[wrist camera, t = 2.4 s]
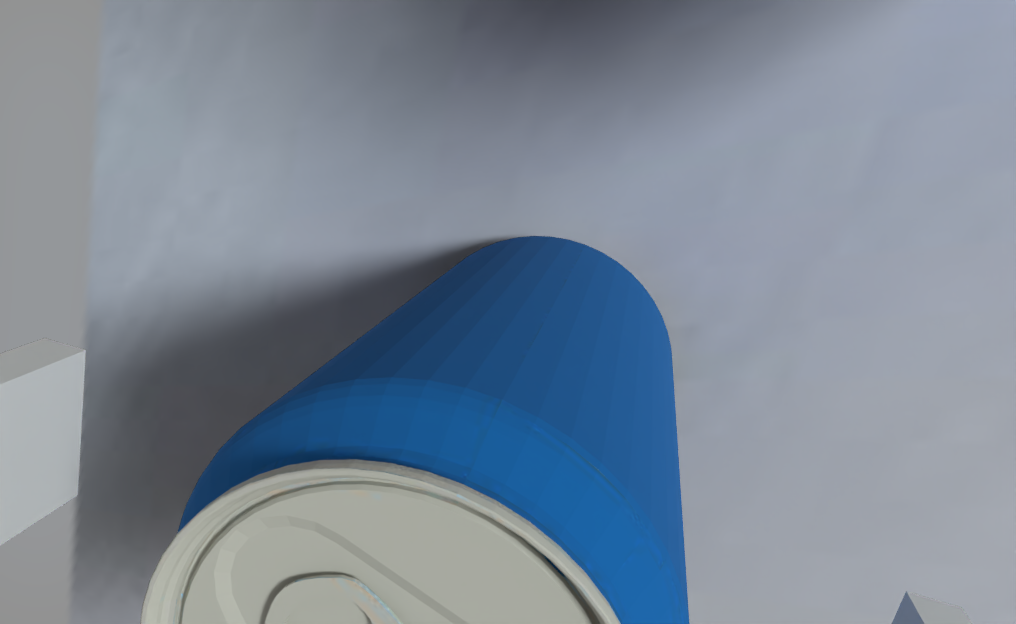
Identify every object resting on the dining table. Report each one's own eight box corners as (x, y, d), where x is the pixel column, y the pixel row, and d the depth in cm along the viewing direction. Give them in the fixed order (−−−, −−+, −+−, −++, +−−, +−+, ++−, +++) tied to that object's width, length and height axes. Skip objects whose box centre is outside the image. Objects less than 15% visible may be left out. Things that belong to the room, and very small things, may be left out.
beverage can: (530, 509, 20) (370, 1016, 9) (378, 332, 20) (1, 629, 8) (725, 377, 18) (839, 816, 7) (560, 176, 18) (388, 290, 6)
